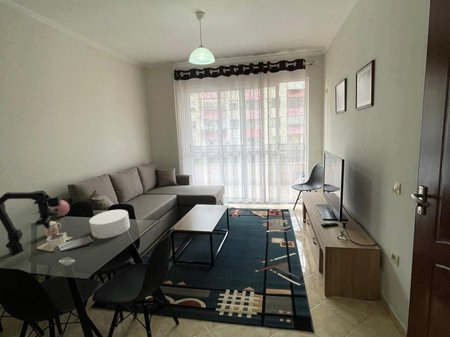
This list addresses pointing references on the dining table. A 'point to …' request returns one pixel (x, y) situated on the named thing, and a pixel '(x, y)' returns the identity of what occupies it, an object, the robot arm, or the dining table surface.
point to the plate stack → (109, 223)
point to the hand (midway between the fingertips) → (48, 228)
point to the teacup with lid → (51, 229)
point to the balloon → (62, 208)
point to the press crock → (54, 242)
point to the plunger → (55, 235)
